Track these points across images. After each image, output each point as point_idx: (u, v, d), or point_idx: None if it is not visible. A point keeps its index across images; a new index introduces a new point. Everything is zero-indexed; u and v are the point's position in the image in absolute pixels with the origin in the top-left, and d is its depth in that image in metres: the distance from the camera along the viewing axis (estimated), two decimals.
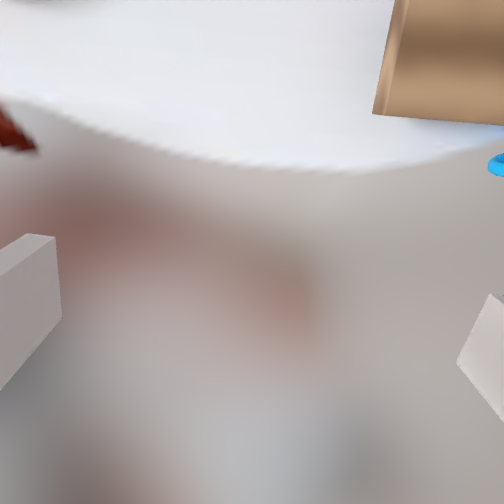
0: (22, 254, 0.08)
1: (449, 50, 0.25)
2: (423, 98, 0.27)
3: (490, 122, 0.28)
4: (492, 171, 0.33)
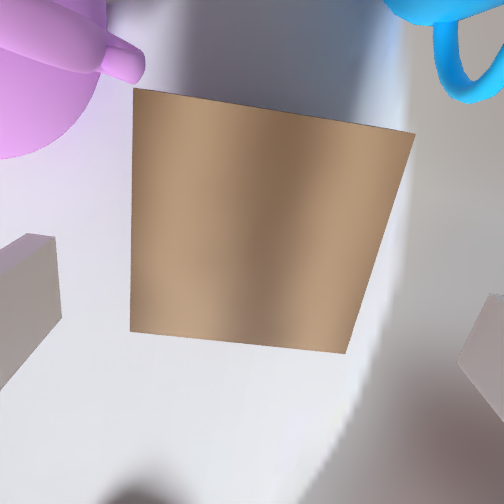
0: (21, 254, 0.08)
1: (267, 281, 0.16)
2: (330, 307, 0.17)
3: (393, 193, 0.15)
4: None
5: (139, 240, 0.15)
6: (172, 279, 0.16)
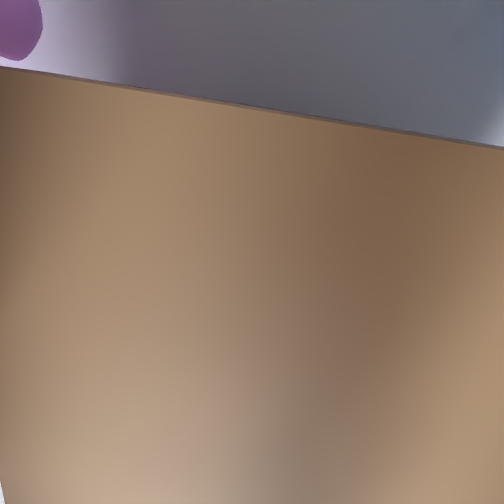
0: None
1: (310, 501, 0.07)
2: None
3: None
4: None
5: (10, 433, 0.06)
6: (98, 500, 0.07)
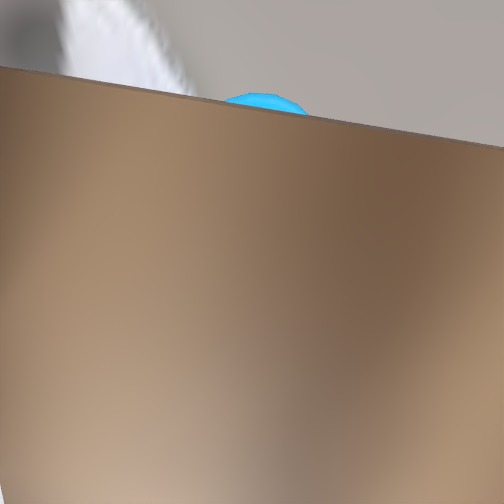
0: None
1: (310, 502, 0.07)
2: None
3: None
4: None
5: (9, 434, 0.06)
6: (98, 501, 0.07)
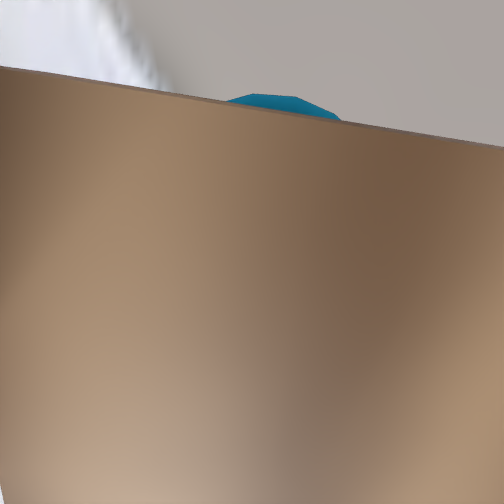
0: None
1: (310, 502, 0.07)
2: None
3: None
4: None
5: (9, 434, 0.06)
6: (98, 501, 0.07)
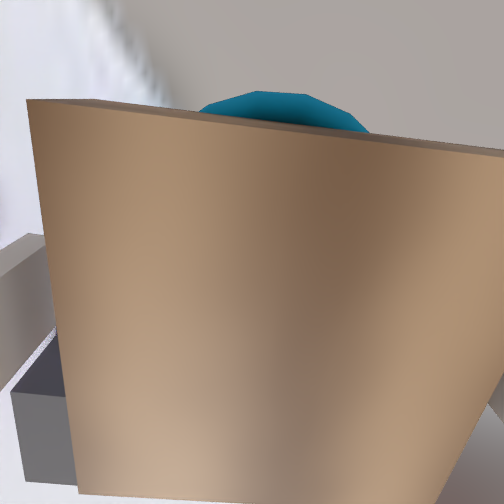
0: (23, 254, 0.08)
1: (303, 421, 0.09)
2: (410, 454, 0.10)
3: None
4: None
5: (76, 368, 0.09)
6: (141, 423, 0.09)
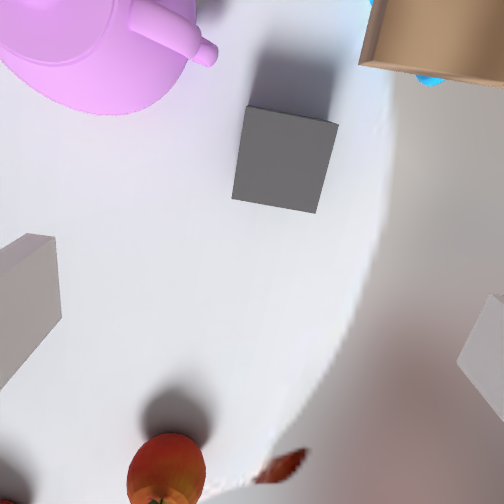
0: (22, 254, 0.08)
1: None
2: None
3: None
4: (433, 85, 0.25)
5: None
6: None
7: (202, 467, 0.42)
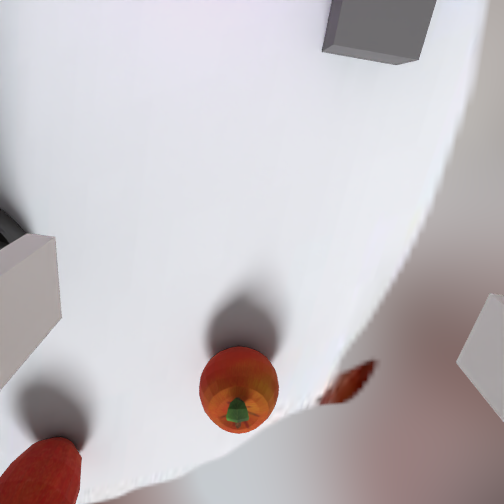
0: (22, 254, 0.08)
1: None
2: None
3: None
4: None
5: None
6: None
7: (276, 375, 0.41)
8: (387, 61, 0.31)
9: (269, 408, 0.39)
